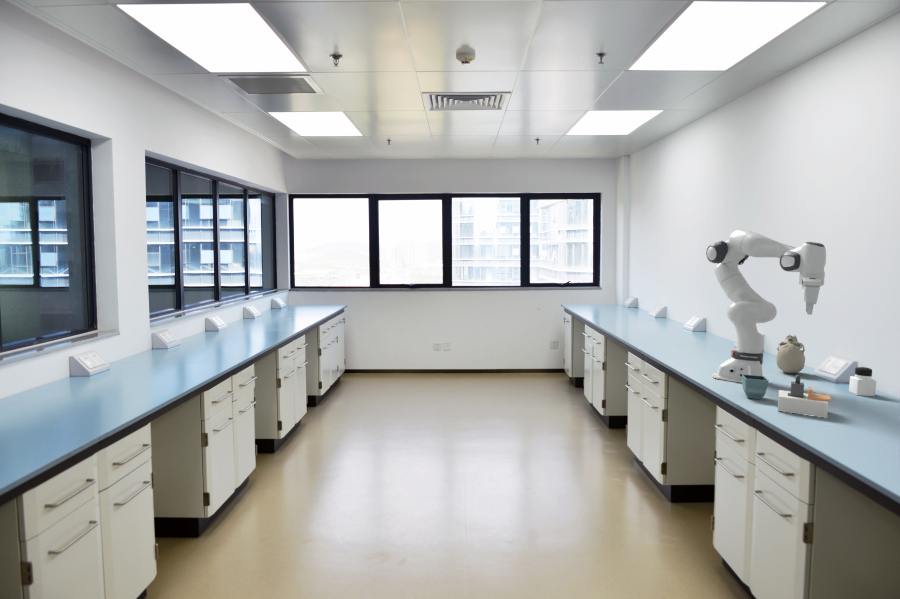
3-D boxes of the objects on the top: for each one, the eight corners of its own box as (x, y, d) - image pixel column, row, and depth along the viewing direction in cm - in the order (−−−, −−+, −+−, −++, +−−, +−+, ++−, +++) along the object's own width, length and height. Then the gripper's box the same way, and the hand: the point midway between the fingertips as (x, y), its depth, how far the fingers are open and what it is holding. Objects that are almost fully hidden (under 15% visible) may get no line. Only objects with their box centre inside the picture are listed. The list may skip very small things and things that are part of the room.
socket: (777, 411, 213) (778, 396, 212) (777, 404, 223) (778, 390, 223) (826, 418, 205) (828, 403, 204) (824, 410, 215) (825, 395, 214)
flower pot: (762, 396, 236) (764, 375, 235) (767, 401, 227) (768, 380, 227) (740, 394, 239) (741, 374, 238) (744, 399, 230) (745, 378, 229)
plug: (789, 405, 214) (792, 376, 213) (789, 403, 218) (791, 374, 217) (802, 407, 212) (804, 377, 211) (802, 404, 216) (804, 375, 214)
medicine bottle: (875, 396, 237) (877, 369, 236) (856, 395, 239) (859, 368, 238) (866, 392, 244) (868, 366, 243) (848, 391, 246) (850, 365, 245)
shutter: (808, 398, 209) (809, 390, 209) (807, 394, 215) (808, 386, 215) (830, 401, 206) (831, 392, 206) (829, 397, 212) (829, 389, 211)
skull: (803, 372, 284) (806, 334, 282) (804, 377, 271) (807, 338, 270) (775, 369, 291) (778, 332, 289) (774, 374, 278) (777, 336, 276)
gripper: (801, 279, 238) (799, 310, 239) (803, 281, 220) (800, 315, 222) (818, 280, 235) (816, 311, 236) (822, 282, 217) (819, 316, 218)
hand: (808, 313), depth 229 cm, fingers open, 8 cm apart
